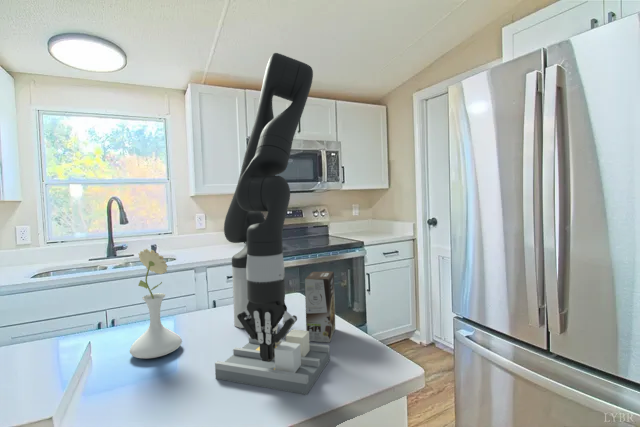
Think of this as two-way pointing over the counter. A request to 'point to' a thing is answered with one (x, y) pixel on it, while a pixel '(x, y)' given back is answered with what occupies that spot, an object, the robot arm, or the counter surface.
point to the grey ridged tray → (272, 368)
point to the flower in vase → (154, 315)
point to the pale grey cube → (287, 357)
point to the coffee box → (320, 306)
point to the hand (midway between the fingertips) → (268, 359)
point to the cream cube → (299, 340)
